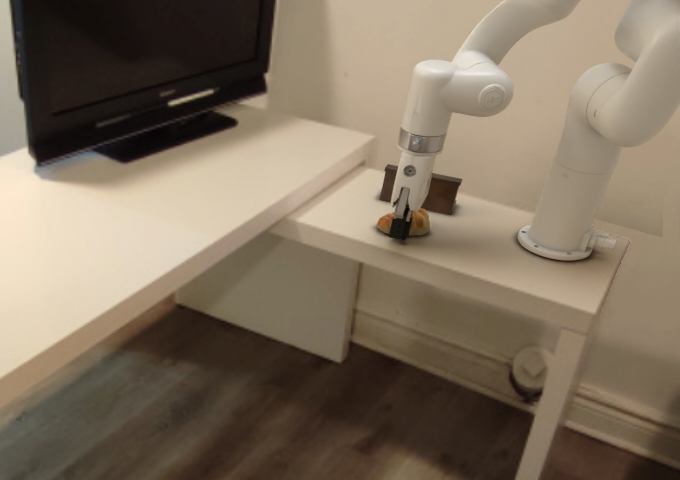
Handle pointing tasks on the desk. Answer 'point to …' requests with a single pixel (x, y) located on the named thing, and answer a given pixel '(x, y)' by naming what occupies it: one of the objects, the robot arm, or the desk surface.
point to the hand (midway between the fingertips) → (398, 237)
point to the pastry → (417, 227)
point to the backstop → (438, 194)
